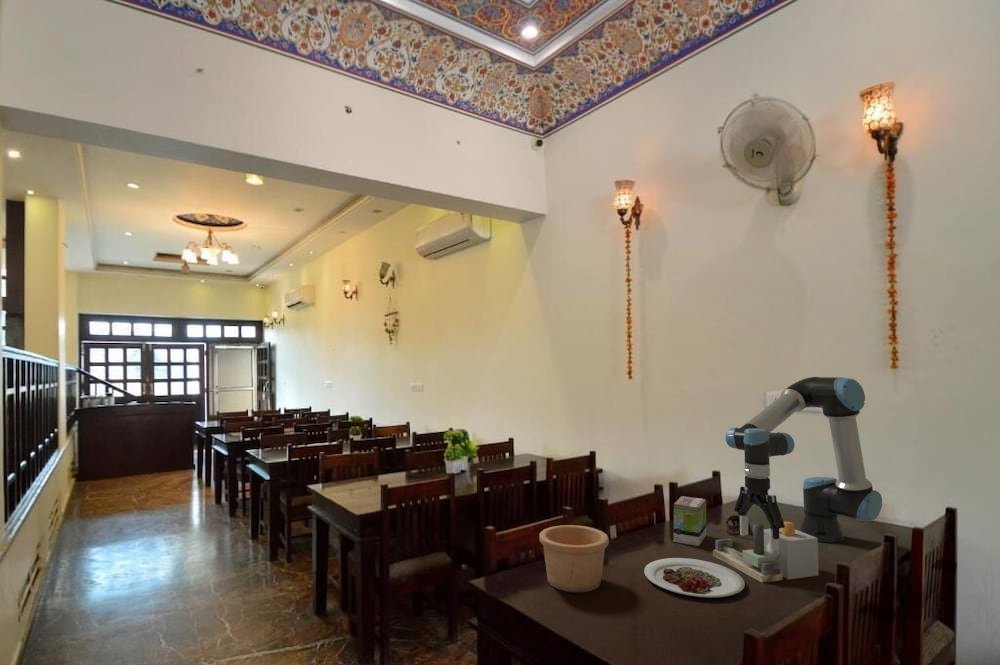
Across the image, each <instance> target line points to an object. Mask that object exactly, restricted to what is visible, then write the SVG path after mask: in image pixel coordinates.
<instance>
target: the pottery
mask: <svg viewBox="0 0 1000 665" xmlns="http://www.w3.org/2000/svg"><path fill="white" fill-rule="evenodd" d="M538 537H539V539H538V540H539V541H538V542H539V543H540V544H541V545H542V546H543V556H544V561H545V567H546V568H545V570H546V578H547V582H548V584H549V585H550V586H551V587H553V588H555V589H557V590H559V591H563V592H568V593H575V594H576V593H588V592H592V591H594V590H596V589H598V588H599V587H600V585H601V584H602V583H601V582H602V581H601V580H602V575H603V574H602V573H603V565H604V559H605V551H606V548H607V546H608V545H609V544H610V539H609V536H608V534H606V533H605V532H604V531H602V530H600V529H598V528H595V527H590V526H585V525H578V524H577V525H575V524H574V525H573V524H565V525H564V524H563V525H562V524H561V525H556V526H550V527H547V528H544V529H542V531H541V532H540V533H539V536H538Z"/></svg>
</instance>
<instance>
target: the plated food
mask: <svg viewBox="0 0 1000 665" xmlns="http://www.w3.org/2000/svg"><path fill="white" fill-rule="evenodd" d="M643 571H644V572H643V573H644V575H645V578H647V580H649V581H650V582H651V583H653V584H654V585H656V586H658V587H660V588H662V589H665V590H667V591H670V592H673V593H676V594H680V595H683V596H684V595H686V596H691V597H698V598H724V597H730V596H733V595H734V596H735V595H736V594H738V593H740V592H742V591H743V590H744V589H745V584H746V583H745V580H744V579H743V577H742V576H741V575H740V574H739V573H737V572H736V571H734V570H733V569H731V568H729V567H726V566H725V565H722V564H717V563H714V562H711V561H707V560H701V559H698V558H696V559H695V558H687V557H686V558H682V557H668V558H662V559H657V560H654V561H651V562H649V563H648V564H646V566H644V570H643Z"/></svg>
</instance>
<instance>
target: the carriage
mask: <svg viewBox="0 0 1000 665" xmlns="http://www.w3.org/2000/svg"><path fill="white" fill-rule="evenodd" d="M764 527H765V526H764V524H760V523H753V524H752V540H753V541H752V542H753V544H752V547H753V548H752V549H745V550H744V549H742V552H741V553H742V555H743V560H744V561H746V562H748V563H750V564H752V565H754V566H756V567H761V563H763V562H772V561H776V556H775V555H773V554H771V553H769V552H766V551H764V529H765V528H764Z"/></svg>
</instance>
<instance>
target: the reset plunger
mask: <svg viewBox="0 0 1000 665" xmlns="http://www.w3.org/2000/svg"><path fill="white" fill-rule="evenodd" d="M783 522H784V525H785V528H781V534H782V535H785V536H787V537H791V536H795V529H796V528H795V527H796V525H795V524H796V523H794V522H792V521H784V520H783Z"/></svg>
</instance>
